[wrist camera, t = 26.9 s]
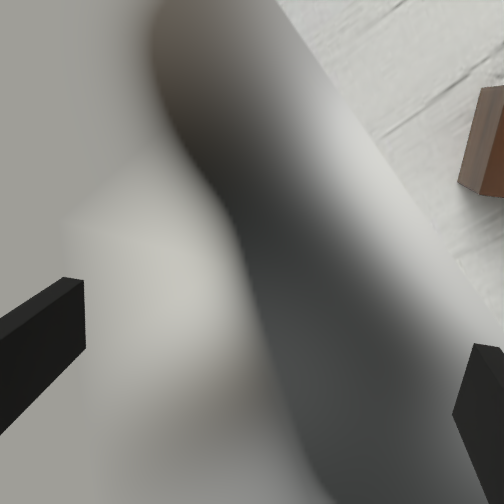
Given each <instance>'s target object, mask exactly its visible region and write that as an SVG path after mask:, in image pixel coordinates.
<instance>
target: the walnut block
mask: <svg viewBox="0 0 504 504" xmlns="http://www.w3.org/2000/svg"><path fill="white" fill-rule="evenodd" d="M457 182H458V183H460V184H462V185H463V186H465V187H467V188H469V189H470V190H472V191H474V192H475V193H477V194H479V195H484V196H492V197H500V198H504V85H502V86H494V87H485V88H481V91H480V95H479V99H478V103H477V107H476V111H475V115H474V119H473V122H472V126H471V130H470V134H469V138H468V142H467V146H466V150H465V154H464V158H463V161H462V165H461V169H460V173H459V177H458V181H457Z"/></svg>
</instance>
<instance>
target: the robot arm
mask: <svg viewBox="0 0 504 504" xmlns="http://www.w3.org/2000/svg"><path fill="white" fill-rule="evenodd" d="M85 349H86V336H85V304H84V280H79V279H73V278H67V277H62V278H61V279H59V280H58V281H56V282H55V283H53V284H52V285H51V286H49V287H47V288H46V289H44V290H43V291H41V292H40V293H38V294H37V295H35V296H33V297H32V298H30V299H29V300H27V301H26V302H24V303H23V304H21V305H20V306H18V307H17V308H15V309H14V310H12V311H11V312H9V313H8V314H6V315H4V316H3V317H1V318H0V435H1V434H2V433H3V432H4V431H5V430H6V429H7V428H8V427H9V426H10V425H11V424H12V423H13V422H14V421H15V420H16V419H17V418H18V417H19V416H20V415H21V414H22V413H23V412H24V411H25V409H27V408H28V406H30V405H31V403H33V401H35V399H36V398H37V397H38V396H39V395H40V394H41V393H42V392H43V391H44V390H45V389H46V388H47V387H48V386H49V385H50V384H51V383H52V382H53V381H54V380H55V379H56V378H57V377H58V376H59V375H60V374H61V373H62V372H63V371H64V370H65V369H66V368H67V367H68V366H69V365H70V364H71V363H72V362H73V361H74V360H75V358H77V357H78V356H79V355H80V354H81V353H82V352H83V351H84V350H85ZM452 416H453V418H454V420H455V423H456V425H457V428H458V430H459V433H460V435H461V437H462V440H463V442H464V445H465V447H466V449H467V452H468V454H469V457H470V459H471V461H472V464H473V466H474V469H475V471H476V474H477V476H478V479H479V481H480V483H481V486H482V488H483V490H484V493H485V495H486V498H487V500H488V503H489V504H504V353H503V352H502V350H501V349H500V348H499V347H494V346H488V345H481V344H475V343H474V345H473V348H472V351H471V354H470V358H469V361H468V364H467V367H466V371H465V374H464V377H463V381H462V384H461V387H460V390H459V393H458V397H457V400H456V404H455V406H454V410H453V413H452Z"/></svg>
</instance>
